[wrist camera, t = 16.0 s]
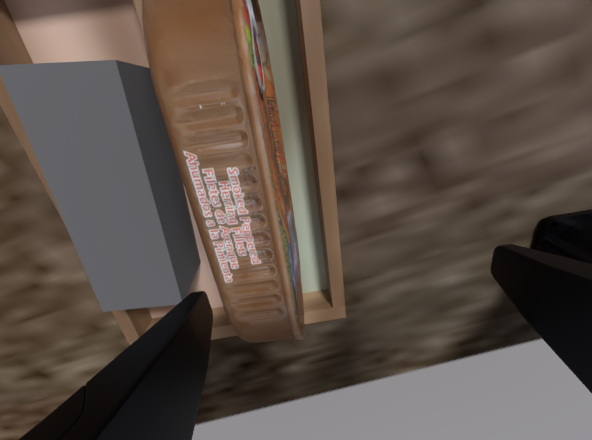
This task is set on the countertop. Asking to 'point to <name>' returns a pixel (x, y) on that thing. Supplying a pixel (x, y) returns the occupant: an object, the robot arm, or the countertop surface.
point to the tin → (230, 155)
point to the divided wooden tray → (300, 166)
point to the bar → (110, 176)
